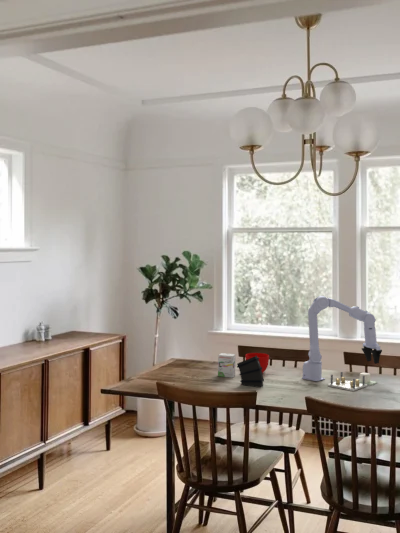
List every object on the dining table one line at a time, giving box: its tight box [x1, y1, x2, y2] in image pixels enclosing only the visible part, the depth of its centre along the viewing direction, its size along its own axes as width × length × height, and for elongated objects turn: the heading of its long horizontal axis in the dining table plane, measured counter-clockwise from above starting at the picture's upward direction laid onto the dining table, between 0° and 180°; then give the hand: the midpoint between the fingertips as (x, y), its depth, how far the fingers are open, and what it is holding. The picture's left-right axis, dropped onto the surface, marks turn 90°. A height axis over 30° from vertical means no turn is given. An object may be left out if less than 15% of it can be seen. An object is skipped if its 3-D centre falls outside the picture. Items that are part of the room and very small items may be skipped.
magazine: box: [236, 356, 265, 388], centre depth 285 cm, size 4×13×15 cm, turn 62°
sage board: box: [357, 372, 378, 386], centre depth 294 cm, size 10×7×5 cm
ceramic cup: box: [245, 352, 270, 374], centre depth 316 cm, size 13×17×10 cm
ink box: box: [217, 352, 236, 379], centre depth 306 cm, size 8×5×12 cm, turn 69°
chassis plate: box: [327, 371, 368, 392], centre depth 286 cm, size 14×14×6 cm
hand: (372, 362), depth 296 cm, fingers open, 7 cm apart
